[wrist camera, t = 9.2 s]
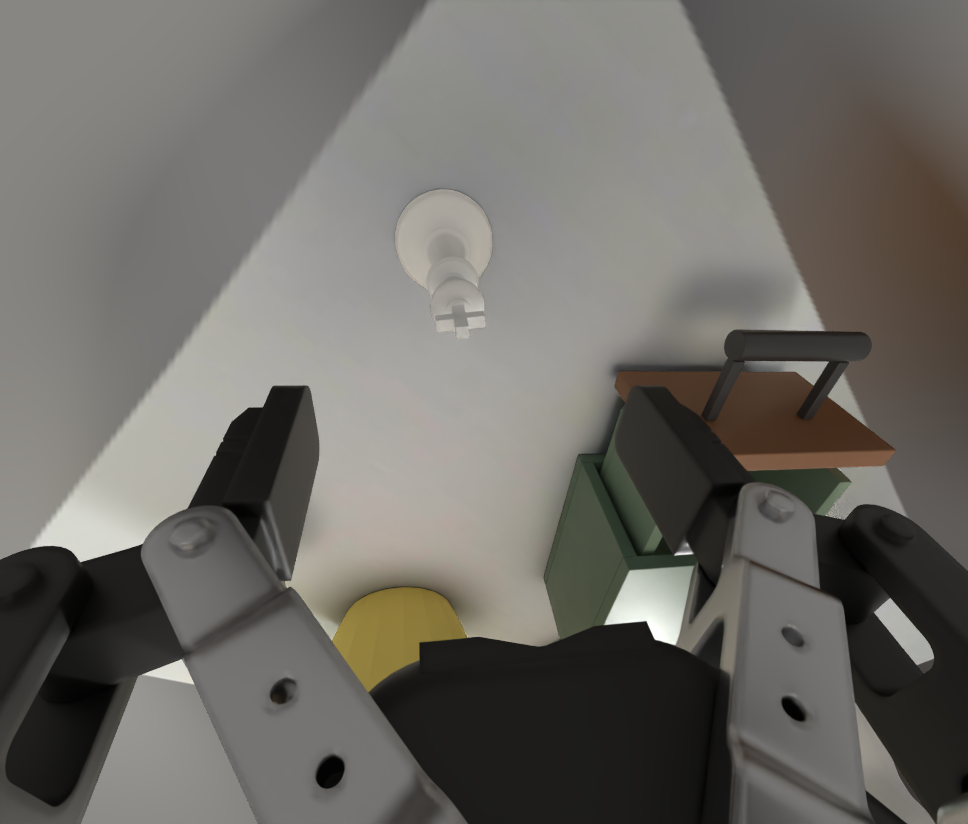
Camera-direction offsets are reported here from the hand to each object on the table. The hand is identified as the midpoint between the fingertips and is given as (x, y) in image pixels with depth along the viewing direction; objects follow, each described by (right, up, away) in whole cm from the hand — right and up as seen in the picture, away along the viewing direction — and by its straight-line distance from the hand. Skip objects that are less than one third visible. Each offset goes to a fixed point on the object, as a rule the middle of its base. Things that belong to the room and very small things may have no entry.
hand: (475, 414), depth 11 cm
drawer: (+14, -1, +20) cm, 25 cm away
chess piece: (-2, +9, +11) cm, 15 cm away
